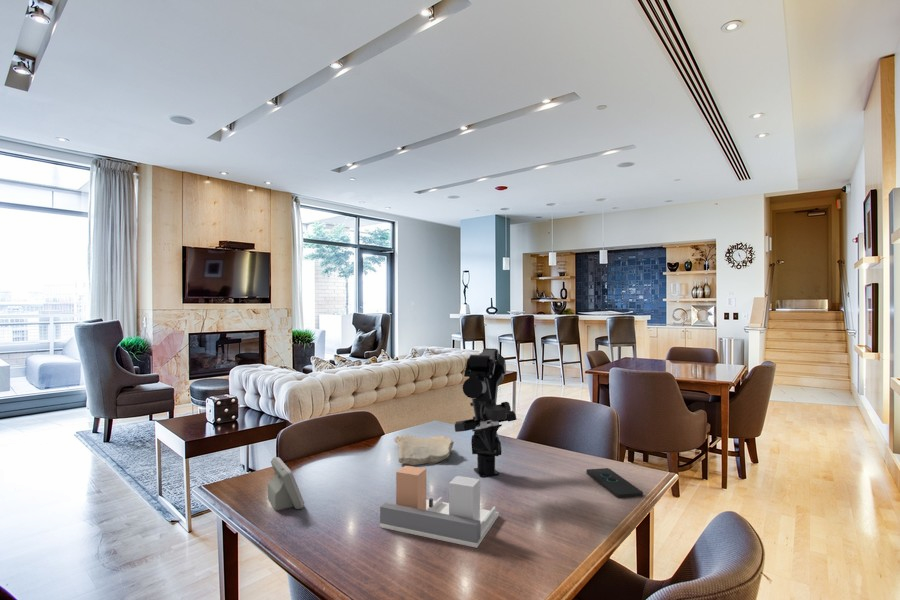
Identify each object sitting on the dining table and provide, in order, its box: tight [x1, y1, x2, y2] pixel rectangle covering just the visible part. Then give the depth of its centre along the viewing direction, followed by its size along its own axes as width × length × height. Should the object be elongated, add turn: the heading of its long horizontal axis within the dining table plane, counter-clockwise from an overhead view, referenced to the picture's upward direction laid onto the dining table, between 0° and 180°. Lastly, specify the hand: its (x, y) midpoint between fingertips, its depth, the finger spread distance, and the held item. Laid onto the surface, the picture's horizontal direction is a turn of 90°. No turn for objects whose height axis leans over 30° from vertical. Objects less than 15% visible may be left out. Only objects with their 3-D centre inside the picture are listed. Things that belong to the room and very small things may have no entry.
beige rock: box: [393, 434, 454, 466], centre depth 172 cm, size 24×8×20 cm
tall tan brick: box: [395, 465, 427, 510], centre depth 121 cm, size 5×6×11 cm
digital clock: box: [267, 456, 305, 512], centre depth 131 cm, size 16×9×11 cm, turn 22°
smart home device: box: [585, 467, 644, 499], centre depth 144 cm, size 8×2×20 cm
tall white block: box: [448, 475, 481, 521], centre depth 114 cm, size 5×6×11 cm
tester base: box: [379, 496, 500, 548], centre depth 119 cm, size 17×25×5 cm
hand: (491, 451), depth 138 cm, fingers closed
